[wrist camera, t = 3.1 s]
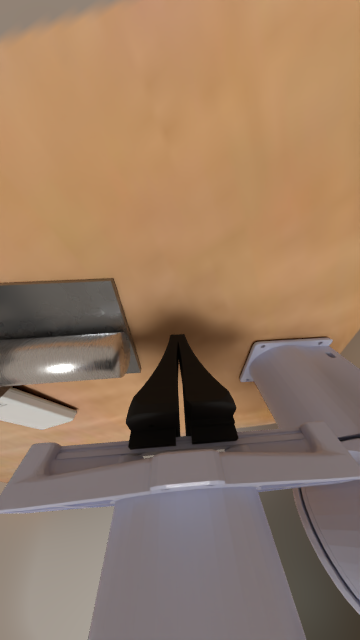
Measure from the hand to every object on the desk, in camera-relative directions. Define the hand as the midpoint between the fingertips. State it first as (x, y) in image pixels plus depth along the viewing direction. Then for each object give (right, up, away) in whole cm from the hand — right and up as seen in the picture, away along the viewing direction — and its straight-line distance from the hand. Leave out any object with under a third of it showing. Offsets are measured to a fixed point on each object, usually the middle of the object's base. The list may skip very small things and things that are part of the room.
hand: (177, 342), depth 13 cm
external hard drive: (-24, -10, +7) cm, 27 cm away
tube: (-14, 0, 0) cm, 14 cm away
